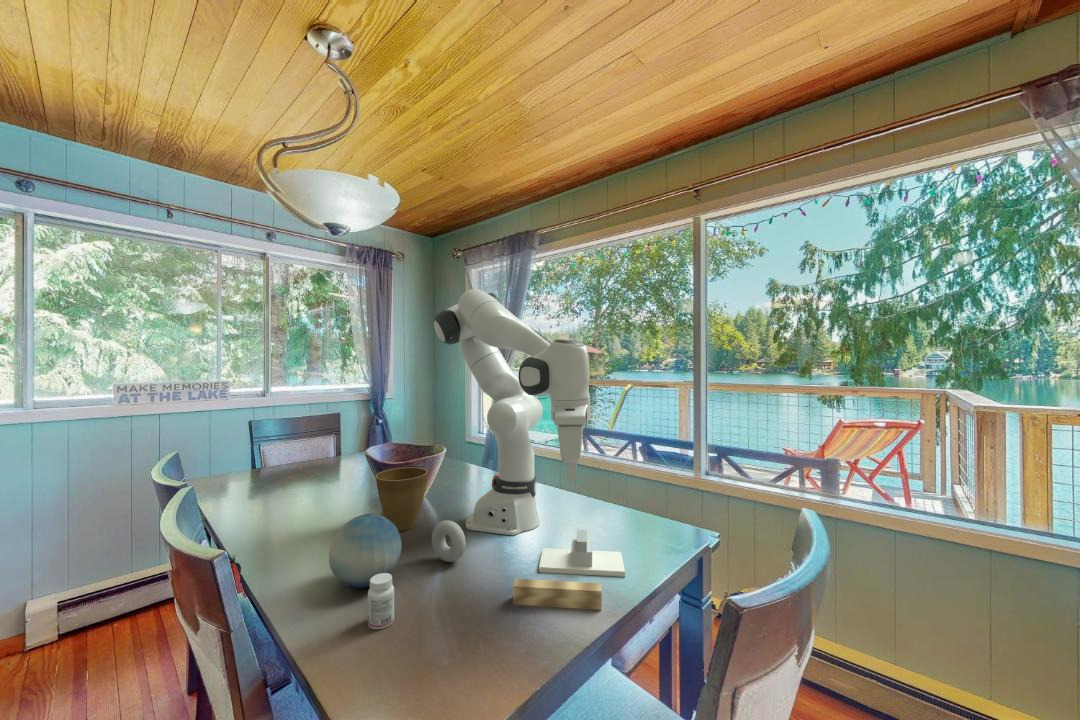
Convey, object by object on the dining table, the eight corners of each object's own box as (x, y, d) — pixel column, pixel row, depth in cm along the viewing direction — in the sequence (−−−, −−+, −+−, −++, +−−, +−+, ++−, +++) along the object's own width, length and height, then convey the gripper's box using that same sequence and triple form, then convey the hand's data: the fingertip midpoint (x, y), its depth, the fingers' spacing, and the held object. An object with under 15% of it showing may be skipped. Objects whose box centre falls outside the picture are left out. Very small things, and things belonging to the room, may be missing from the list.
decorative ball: (400, 596, 89) (400, 525, 89) (321, 607, 84) (322, 533, 84) (402, 563, 103) (402, 502, 103) (335, 571, 99) (335, 508, 99)
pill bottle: (372, 615, 82) (372, 572, 82) (397, 614, 82) (397, 571, 82) (363, 631, 77) (364, 585, 77) (390, 629, 77) (390, 584, 78)
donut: (468, 563, 103) (468, 522, 103) (459, 569, 100) (459, 527, 100) (438, 553, 108) (438, 515, 108) (428, 559, 105) (428, 519, 105)
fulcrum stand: (539, 572, 99) (539, 542, 99) (543, 552, 109) (543, 525, 109) (625, 576, 97) (625, 546, 97) (621, 556, 107) (621, 529, 107)
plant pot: (425, 514, 135) (426, 465, 136) (428, 532, 121) (429, 477, 121) (376, 520, 131) (376, 468, 131) (373, 539, 117) (373, 481, 117)
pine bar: (512, 605, 86) (513, 586, 86) (515, 597, 89) (515, 578, 89) (601, 611, 84) (601, 591, 84) (600, 602, 87) (600, 583, 87)
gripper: (558, 407, 104) (560, 463, 103) (553, 417, 83) (555, 487, 83) (584, 407, 103) (586, 463, 103) (585, 417, 83) (587, 487, 82)
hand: (572, 474), depth 93 cm, fingers open, 8 cm apart
